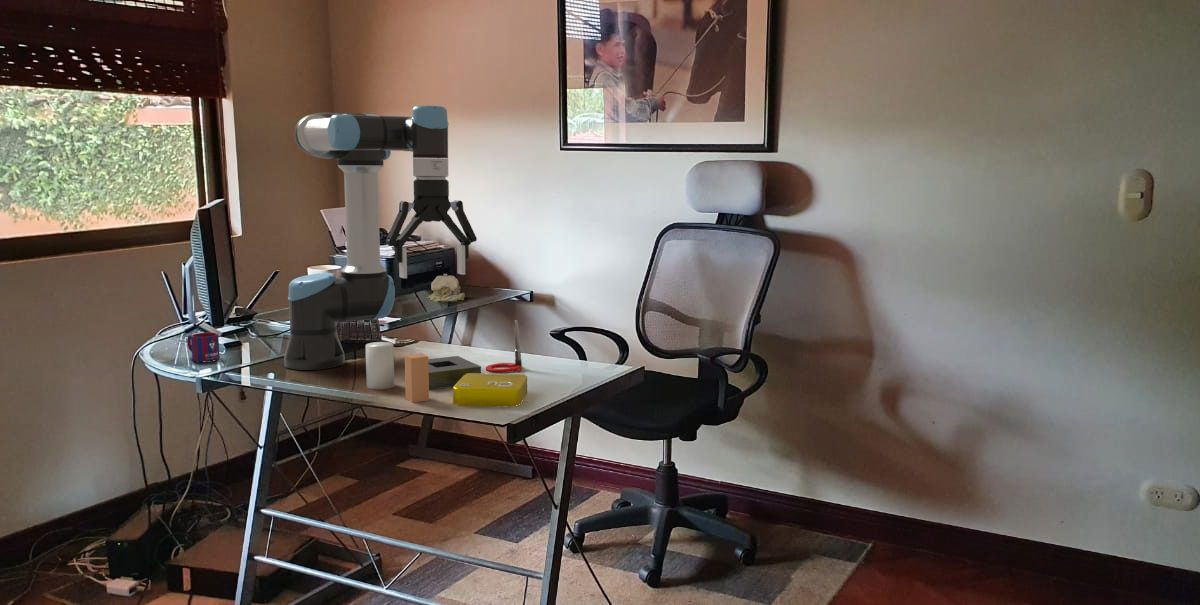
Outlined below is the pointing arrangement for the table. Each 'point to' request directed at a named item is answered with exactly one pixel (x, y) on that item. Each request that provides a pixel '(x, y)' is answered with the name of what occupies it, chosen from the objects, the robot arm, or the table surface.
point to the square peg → (416, 377)
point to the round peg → (380, 365)
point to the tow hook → (513, 366)
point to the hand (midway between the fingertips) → (432, 275)
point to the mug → (204, 346)
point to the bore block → (449, 371)
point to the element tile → (490, 389)
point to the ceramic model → (446, 289)
